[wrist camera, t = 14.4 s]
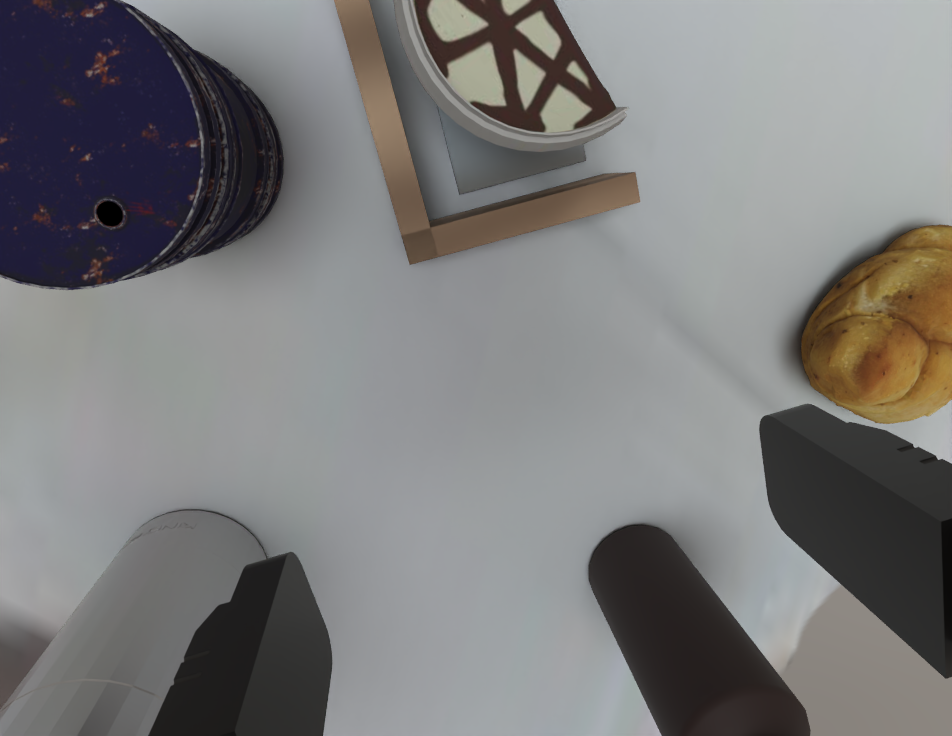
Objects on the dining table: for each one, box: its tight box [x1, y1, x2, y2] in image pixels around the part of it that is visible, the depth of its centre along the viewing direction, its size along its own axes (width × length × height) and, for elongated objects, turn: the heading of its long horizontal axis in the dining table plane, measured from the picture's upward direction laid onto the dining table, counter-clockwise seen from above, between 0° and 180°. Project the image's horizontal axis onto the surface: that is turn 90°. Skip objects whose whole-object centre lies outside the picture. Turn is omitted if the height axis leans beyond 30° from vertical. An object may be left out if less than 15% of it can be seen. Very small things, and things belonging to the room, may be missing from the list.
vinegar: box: [589, 525, 810, 736], centre depth 35 cm, size 7×7×20 cm
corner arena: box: [334, 0, 640, 265], centre depth 32 cm, size 20×12×5 cm, turn 14°
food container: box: [394, 0, 629, 152], centre depth 29 cm, size 12×6×10 cm, turn 36°
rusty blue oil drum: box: [0, 0, 284, 290], centre depth 27 cm, size 10×10×15 cm
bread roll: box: [801, 225, 952, 424], centre depth 38 cm, size 13×10×8 cm
